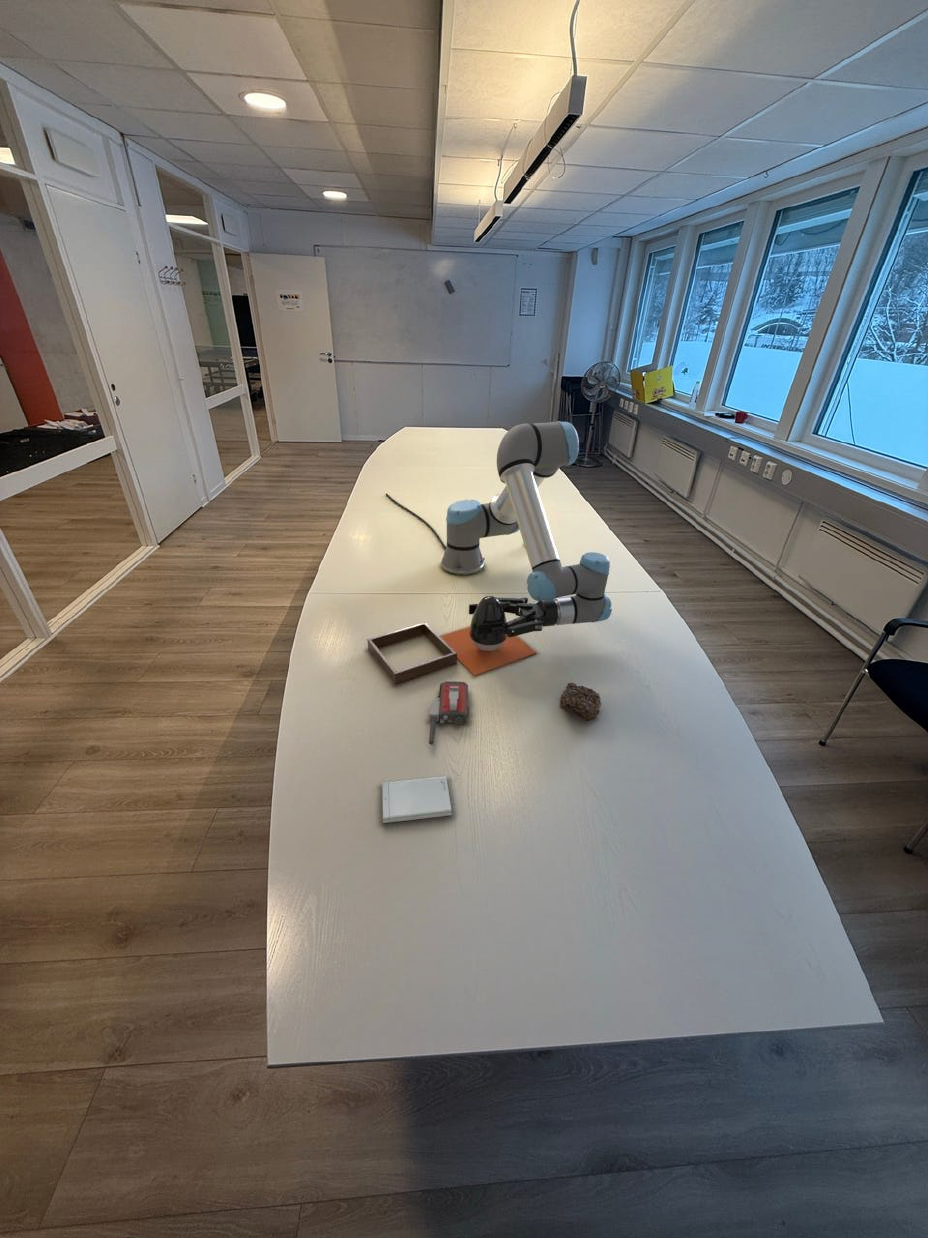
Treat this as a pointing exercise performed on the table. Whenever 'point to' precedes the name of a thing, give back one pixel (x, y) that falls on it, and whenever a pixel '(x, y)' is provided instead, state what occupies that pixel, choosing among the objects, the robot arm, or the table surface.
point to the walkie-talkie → (449, 705)
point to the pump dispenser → (488, 613)
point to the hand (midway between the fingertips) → (473, 619)
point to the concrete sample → (581, 701)
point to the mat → (485, 652)
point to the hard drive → (415, 799)
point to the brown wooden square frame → (416, 670)
